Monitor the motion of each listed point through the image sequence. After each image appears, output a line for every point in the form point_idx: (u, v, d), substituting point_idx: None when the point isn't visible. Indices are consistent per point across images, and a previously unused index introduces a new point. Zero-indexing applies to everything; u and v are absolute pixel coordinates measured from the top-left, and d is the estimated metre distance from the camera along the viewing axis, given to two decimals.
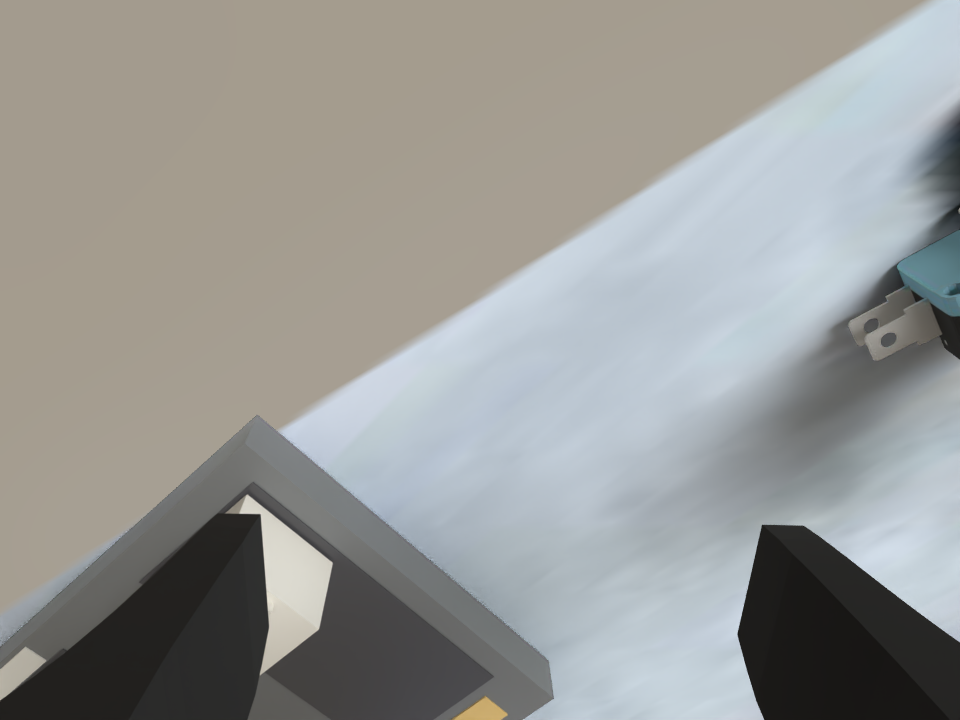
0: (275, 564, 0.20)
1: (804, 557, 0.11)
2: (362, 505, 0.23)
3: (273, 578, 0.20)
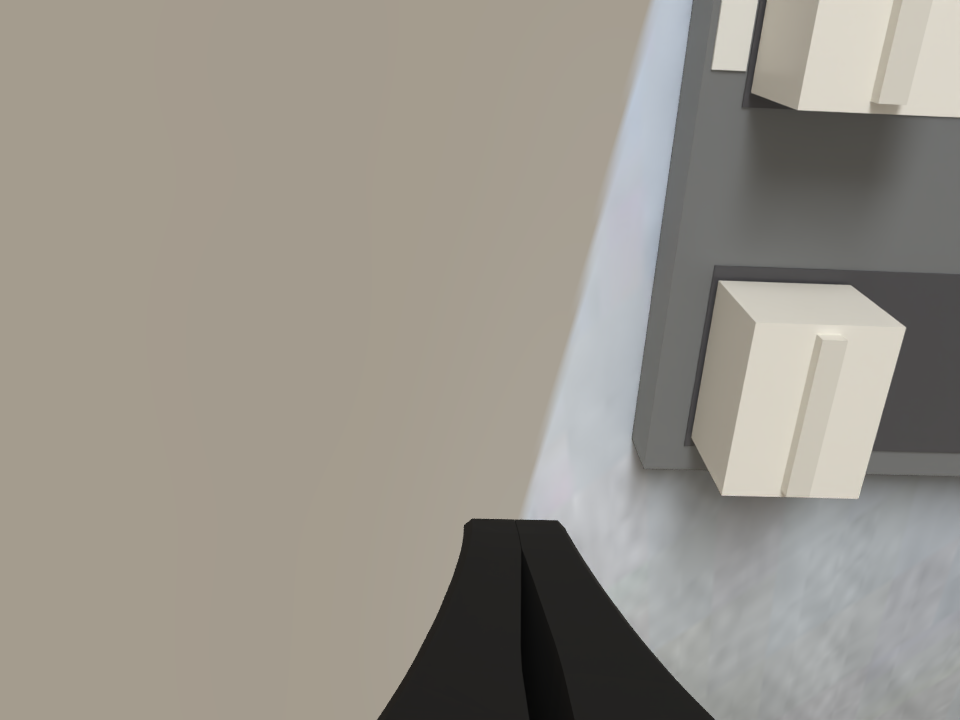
0: None
1: (532, 552, 0.10)
2: None
3: None
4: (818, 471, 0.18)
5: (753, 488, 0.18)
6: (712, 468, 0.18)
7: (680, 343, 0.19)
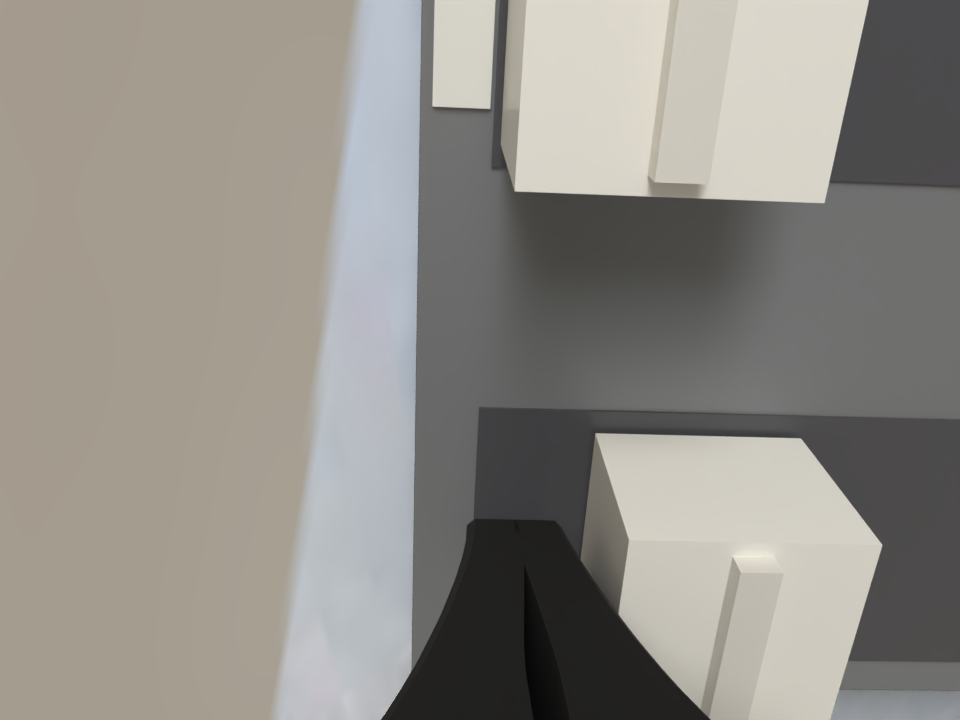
0: None
1: (529, 552, 0.10)
2: None
3: None
4: None
5: None
6: None
7: (441, 517, 0.13)
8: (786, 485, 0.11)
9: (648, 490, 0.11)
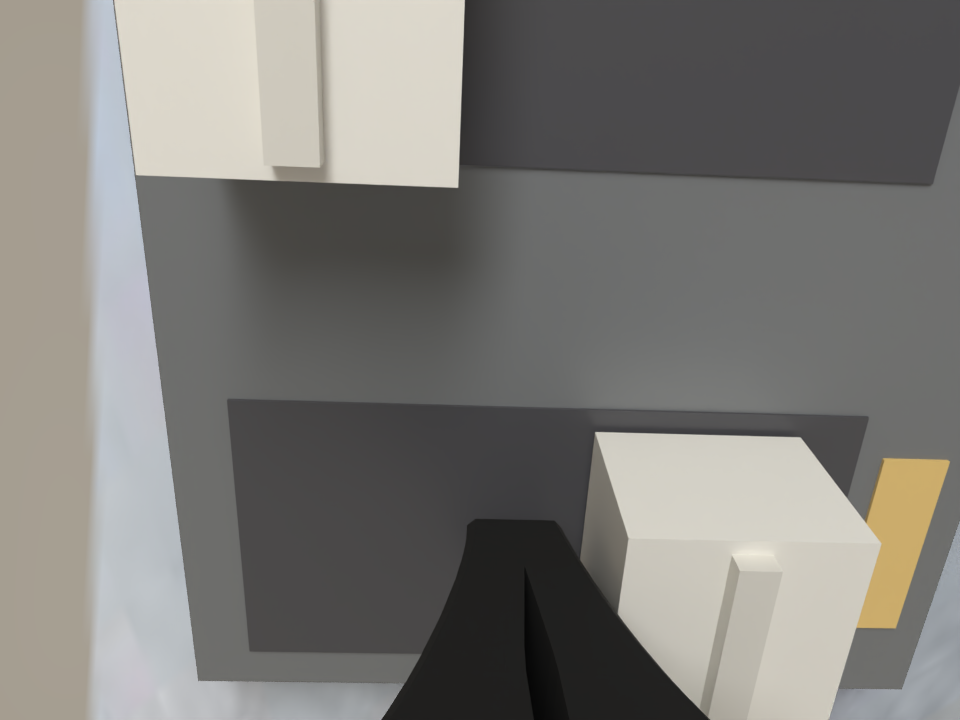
0: None
1: (528, 552, 0.10)
2: None
3: None
4: None
5: None
6: None
7: (204, 510, 0.12)
8: (785, 484, 0.11)
9: (648, 489, 0.11)
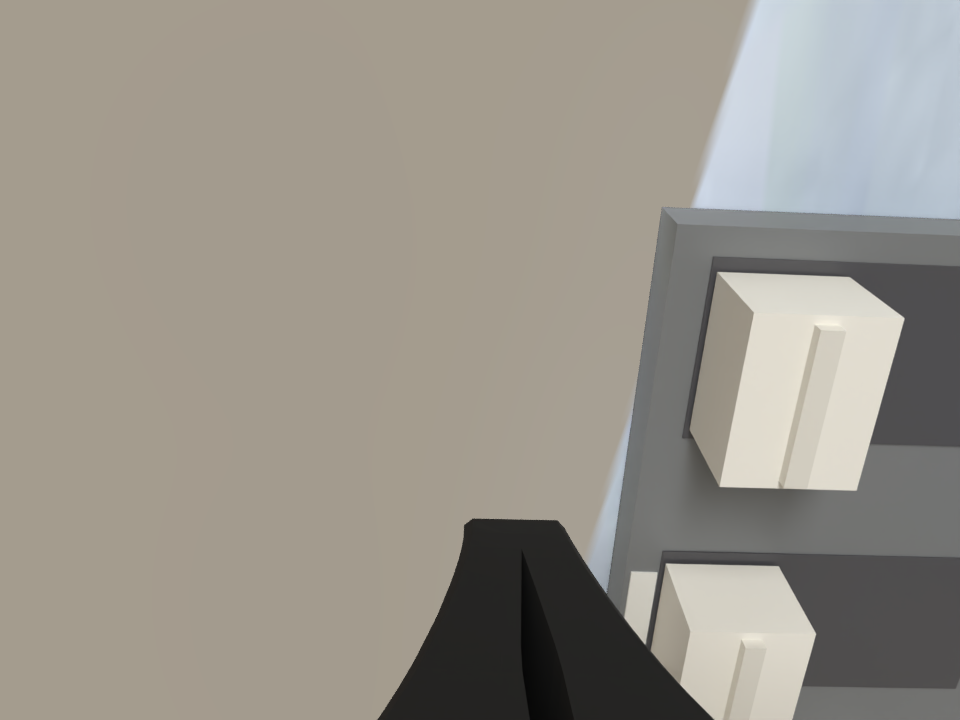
0: (804, 298, 0.17)
1: (531, 552, 0.10)
2: (826, 214, 0.20)
3: (816, 306, 0.17)
4: None
5: None
6: None
7: None
8: None
9: None
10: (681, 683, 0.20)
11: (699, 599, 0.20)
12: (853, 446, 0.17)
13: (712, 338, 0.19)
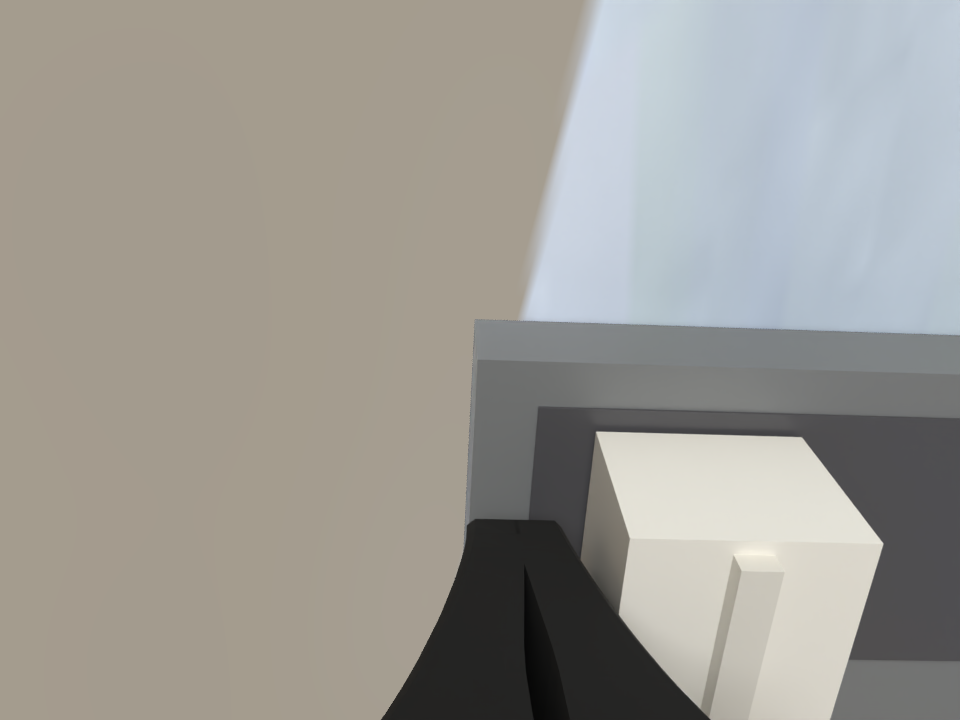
0: (723, 494, 0.11)
1: (529, 552, 0.10)
2: (724, 329, 0.13)
3: (739, 517, 0.10)
4: None
5: None
6: None
7: None
8: None
9: None
10: None
11: None
12: None
13: (590, 532, 0.12)
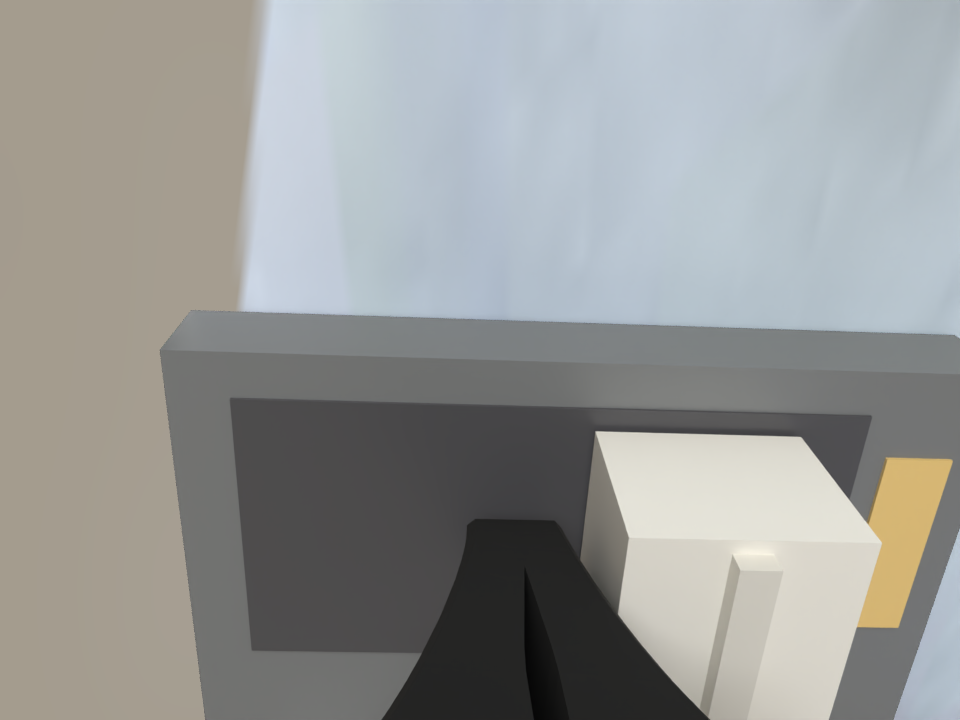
0: (722, 493, 0.11)
1: (528, 552, 0.10)
2: (446, 320, 0.13)
3: (738, 517, 0.10)
4: None
5: None
6: None
7: None
8: None
9: None
10: None
11: None
12: None
13: (590, 531, 0.12)
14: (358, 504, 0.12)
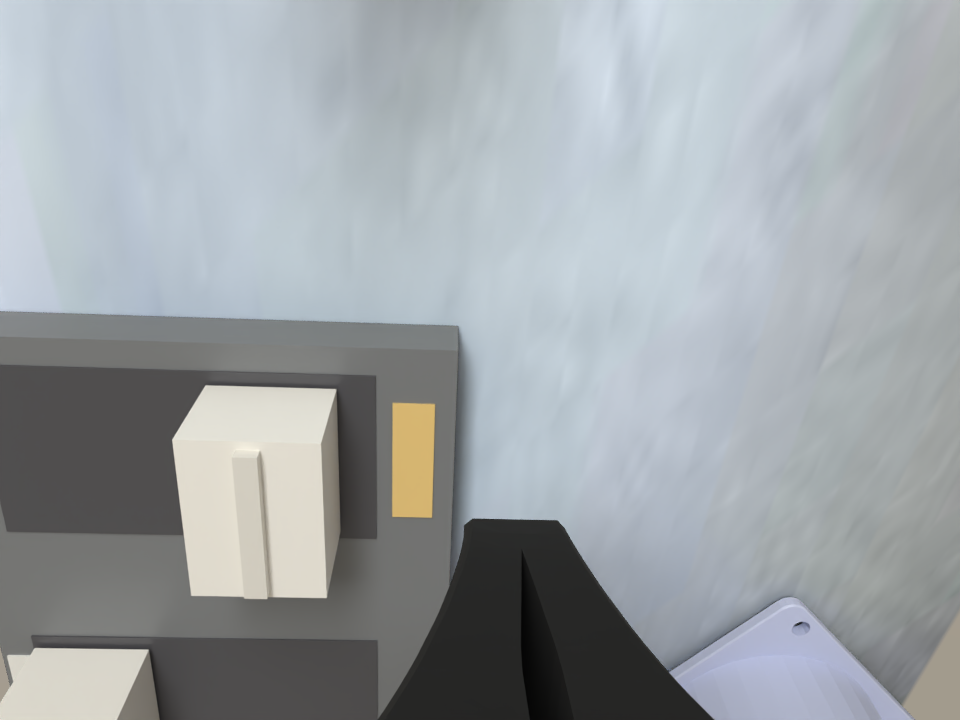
0: (251, 418, 0.18)
1: (531, 552, 0.10)
2: (122, 316, 0.20)
3: (248, 430, 0.17)
4: None
5: None
6: None
7: None
8: None
9: None
10: None
11: (30, 687, 0.21)
12: (310, 558, 0.18)
13: None
14: (60, 432, 0.20)
